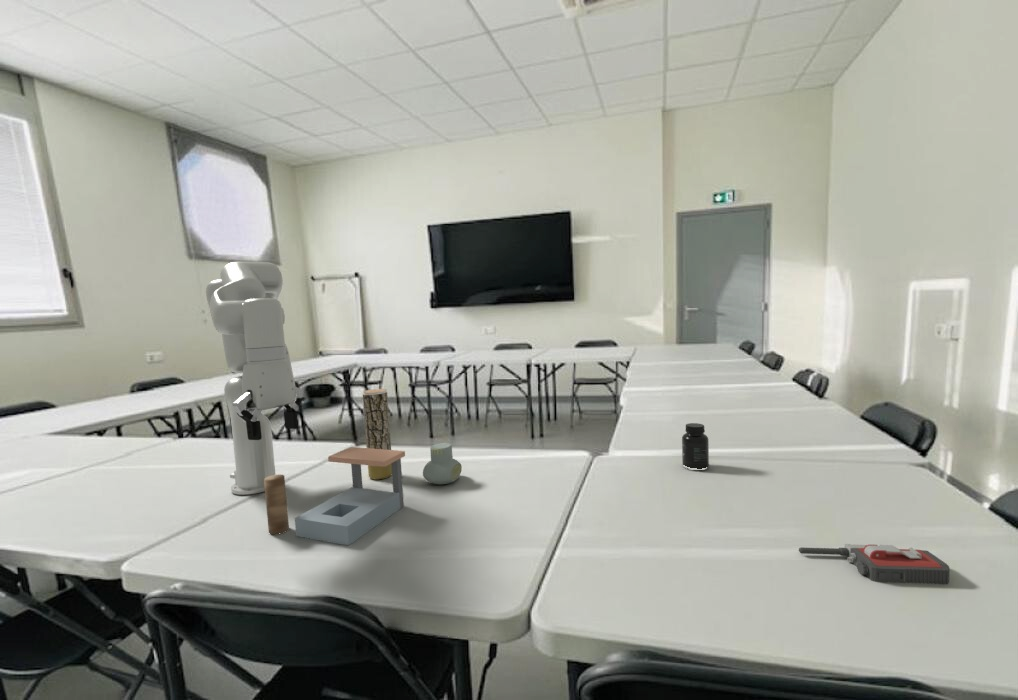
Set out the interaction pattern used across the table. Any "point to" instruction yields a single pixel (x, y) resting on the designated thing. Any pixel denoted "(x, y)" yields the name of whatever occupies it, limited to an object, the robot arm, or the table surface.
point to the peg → (276, 504)
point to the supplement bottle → (695, 447)
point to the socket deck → (355, 500)
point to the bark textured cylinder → (377, 428)
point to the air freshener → (442, 465)
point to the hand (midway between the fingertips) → (274, 433)
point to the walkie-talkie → (891, 563)
